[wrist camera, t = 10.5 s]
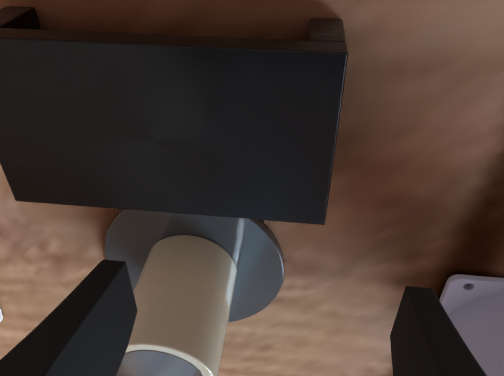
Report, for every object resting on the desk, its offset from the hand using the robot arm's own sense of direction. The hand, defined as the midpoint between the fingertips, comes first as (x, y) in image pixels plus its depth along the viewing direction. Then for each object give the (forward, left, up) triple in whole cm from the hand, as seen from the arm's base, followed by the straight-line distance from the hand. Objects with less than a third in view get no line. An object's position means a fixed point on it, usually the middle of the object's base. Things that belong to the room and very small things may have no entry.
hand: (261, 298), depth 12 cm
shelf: (+5, -1, -9) cm, 10 cm away
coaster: (+5, +9, -9) cm, 14 cm away
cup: (+5, +9, -9) cm, 13 cm away
